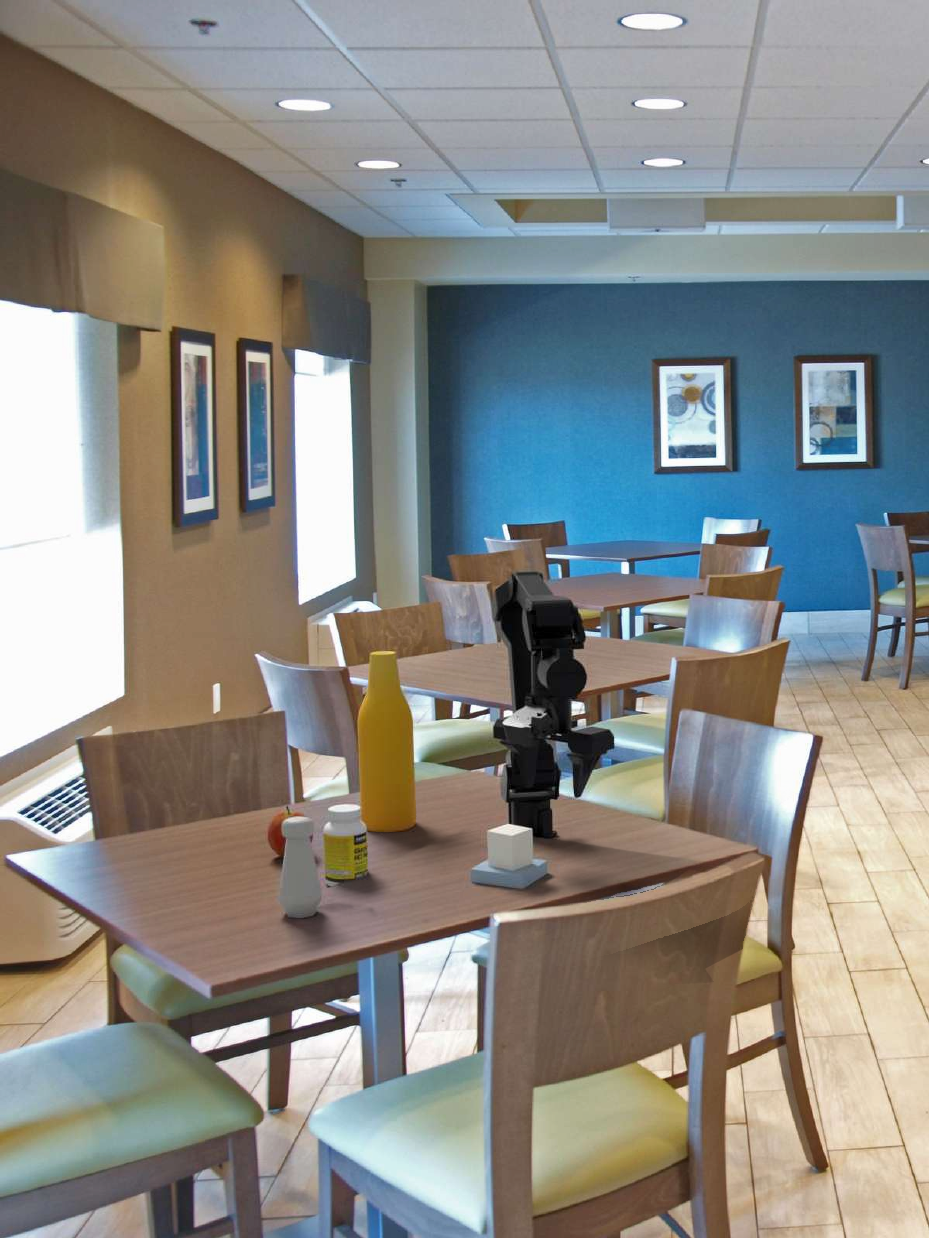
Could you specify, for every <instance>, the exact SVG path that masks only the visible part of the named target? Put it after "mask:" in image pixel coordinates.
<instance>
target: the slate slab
mask: <svg viewBox="0 0 929 1238" xmlns="http://www.w3.org/2000/svg"><path fill="white" fill-rule="evenodd" d="M548 867H549V866H548V860H546V859H545V860H544V859H539V858H538V859H537V858H533V864H530V865H528V866H525V867H522V868H520V869H517V870H514V871H510V870H506V869H501V868H497V867H492V866H488V859H486V860H484V861H482V862H481V863H478V864H477V865H475V866H473V867H472V868H470V883H477V884H483V885H489V886H490V885H491V886H498V887H504V888H512V889H519V890H523V889H525V888H527V887H529V886H530V885H532V884H533V883H534V882H536V881H538V880H540V878H543V877H544V876H546V875H547V874H548V871H549V870H548Z"/></svg>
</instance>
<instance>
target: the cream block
mask: <svg viewBox="0 0 929 1238" xmlns="http://www.w3.org/2000/svg"><path fill="white" fill-rule="evenodd" d="M533 839H534V837H533V835H532V828H527V827H521V826H516V825H511V824H509V823H506V824H504V825H500V826H497V827H494V828H492V829H488V830H487V831H486V840H487V841H486V842H487V843H486V844H487V860H488V866H492V867H497V868H501V869H506V870H510V871H514V870H517V869H520V868H522V867H525V866H528V865H530V864H533V859H534V844H533V843H534V841H533Z"/></svg>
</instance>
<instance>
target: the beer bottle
mask: <svg viewBox="0 0 929 1238" xmlns="http://www.w3.org/2000/svg"><path fill="white" fill-rule="evenodd" d="M398 665H399V664H398V660H397V653H396V651H390V650H385V651H384V650H380V651H379V650H378V651H373V652H370V653H369V666H368V681H367V690H366V693H365V695H364V698H363V700H362V703H361V705H360V708H359V711H358V715H357V740H358V741H357V743H358V745H357V746H358V767H359V768H358V771H359V772H358V773H359V775H358V776H359V797H360V801H359V802H360V805H359V806H360V807H361V817H360V821H362V822H363V823H364V824H365V825H366V828H367V831H369V832H373V833H374V832H377V833H395V832H401V831H405V830H409V829H411V828H413V827H414V826H415V825H416V821H417V806H416V805H417V803H416V778H415V775H416V774H415V750H414V749H415V748H414V747H415V746H414V745H415V743H414V740H415V739H414V719H413V714H412V713H413V712H412V710H411V708H410V704H409V702H408V700H407V698H406V697H405V694H404V693H403V691H402V687H401V680H400V672H399V666H398Z"/></svg>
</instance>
